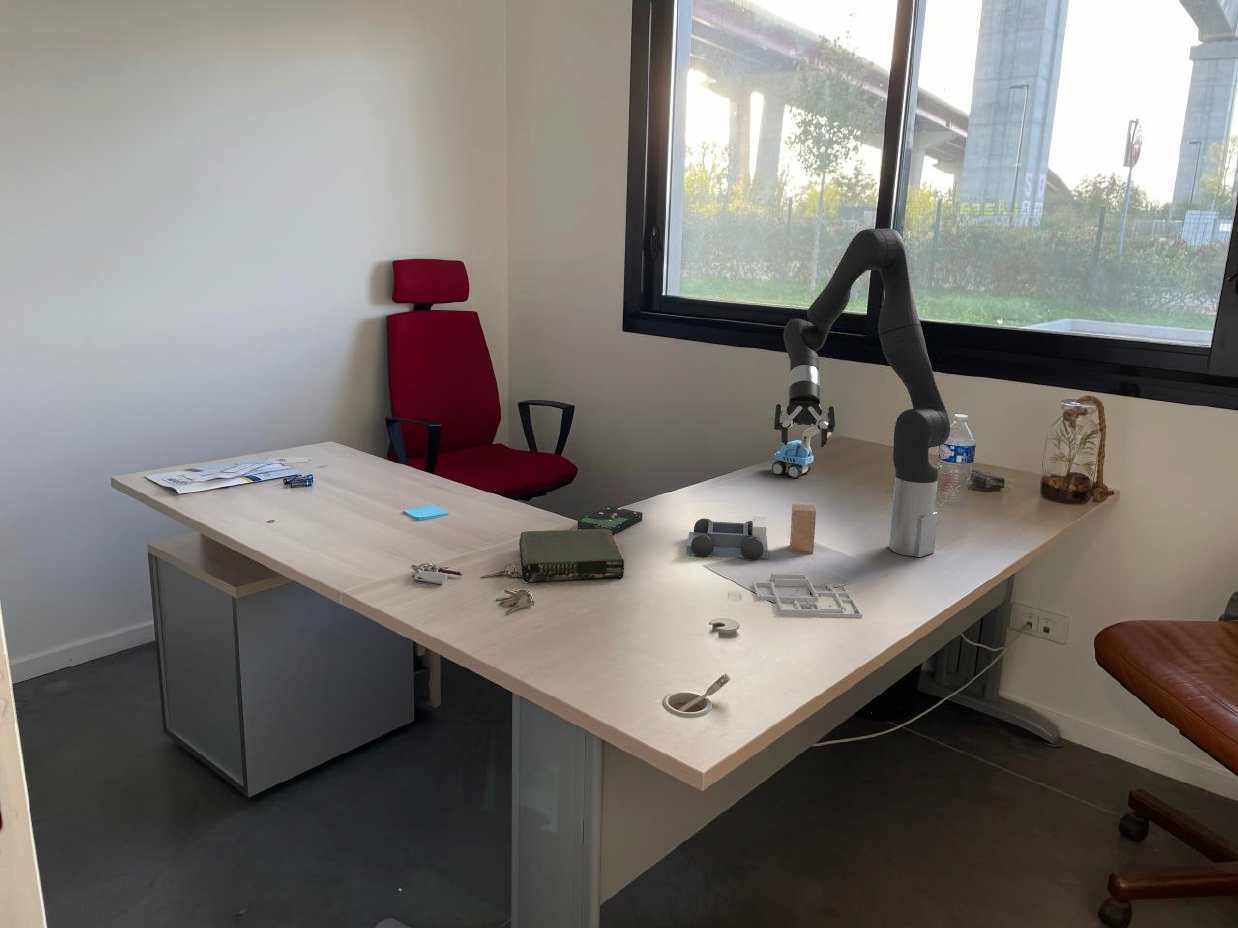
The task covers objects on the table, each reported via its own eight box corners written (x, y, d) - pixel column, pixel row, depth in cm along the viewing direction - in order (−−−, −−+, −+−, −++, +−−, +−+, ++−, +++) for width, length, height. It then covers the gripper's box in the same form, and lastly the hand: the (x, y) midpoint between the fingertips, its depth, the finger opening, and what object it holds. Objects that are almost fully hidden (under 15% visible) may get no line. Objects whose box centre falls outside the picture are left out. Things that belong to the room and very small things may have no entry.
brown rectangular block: (811, 546, 215) (814, 505, 212) (813, 553, 210) (816, 511, 207) (789, 545, 215) (792, 504, 213) (790, 552, 210) (793, 510, 208)
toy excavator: (819, 483, 268) (823, 425, 264) (768, 474, 278) (771, 418, 274) (831, 477, 275) (835, 421, 271) (781, 468, 285) (784, 413, 281)
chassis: (766, 541, 217) (767, 513, 215) (767, 561, 204) (769, 531, 203) (689, 537, 219) (690, 509, 218) (686, 556, 207) (687, 526, 205)
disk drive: (607, 515, 237) (576, 530, 225) (607, 505, 237) (576, 519, 224) (643, 522, 232) (613, 538, 220) (643, 511, 232) (613, 526, 219)
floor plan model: (721, 581, 194) (722, 572, 193) (841, 583, 194) (841, 575, 193) (730, 617, 176) (731, 607, 175) (862, 620, 175) (863, 610, 175)
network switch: (525, 590, 187) (525, 567, 186) (507, 552, 209) (507, 531, 208) (635, 580, 193) (636, 557, 192) (607, 544, 215) (607, 524, 214)
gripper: (776, 378, 224) (774, 434, 216) (835, 380, 222) (836, 437, 214) (774, 395, 230) (772, 451, 222) (832, 398, 229) (832, 454, 221)
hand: (804, 444), depth 218 cm, fingers open, 8 cm apart
